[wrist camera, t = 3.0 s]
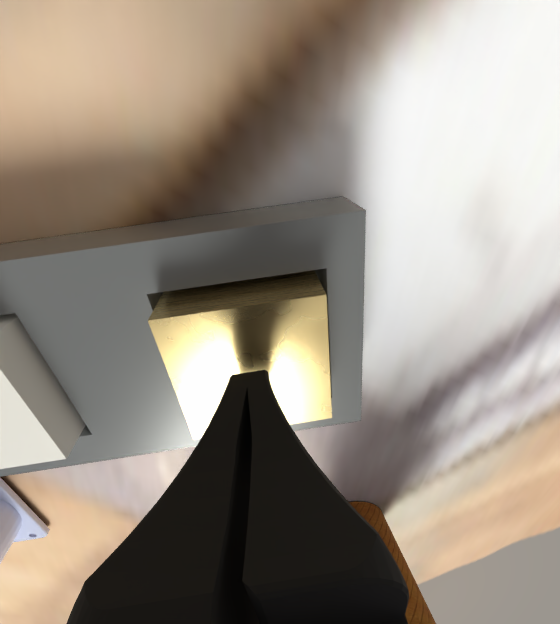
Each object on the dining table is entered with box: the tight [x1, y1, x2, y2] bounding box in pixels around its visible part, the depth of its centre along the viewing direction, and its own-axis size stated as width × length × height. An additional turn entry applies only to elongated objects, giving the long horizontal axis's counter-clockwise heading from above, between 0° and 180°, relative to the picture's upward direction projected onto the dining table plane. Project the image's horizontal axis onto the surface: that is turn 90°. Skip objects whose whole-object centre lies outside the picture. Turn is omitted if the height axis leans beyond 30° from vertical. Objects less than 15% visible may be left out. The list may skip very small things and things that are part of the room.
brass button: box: [148, 270, 332, 439], centre depth 14 cm, size 6×6×3 cm
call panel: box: [0, 196, 366, 477], centre depth 15 cm, size 22×11×3 cm, turn 96°
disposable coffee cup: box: [349, 502, 436, 624], centre depth 22 cm, size 10×10×12 cm
